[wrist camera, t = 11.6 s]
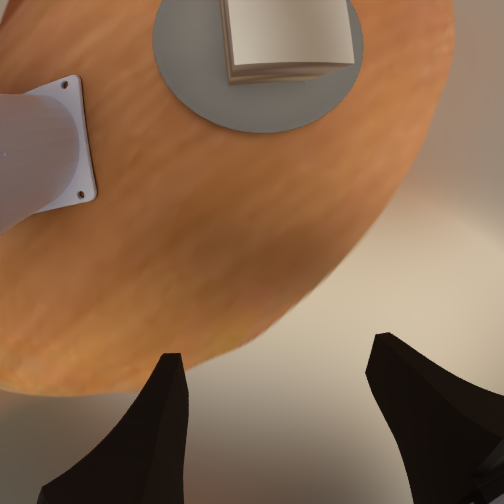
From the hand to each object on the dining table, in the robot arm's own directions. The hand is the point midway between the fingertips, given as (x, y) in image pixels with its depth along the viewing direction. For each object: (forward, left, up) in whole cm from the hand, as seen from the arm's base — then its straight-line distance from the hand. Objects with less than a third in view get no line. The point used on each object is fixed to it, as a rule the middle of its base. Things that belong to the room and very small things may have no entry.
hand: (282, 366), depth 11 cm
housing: (+1, +13, -8) cm, 15 cm away
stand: (+1, +13, -10) cm, 17 cm away
